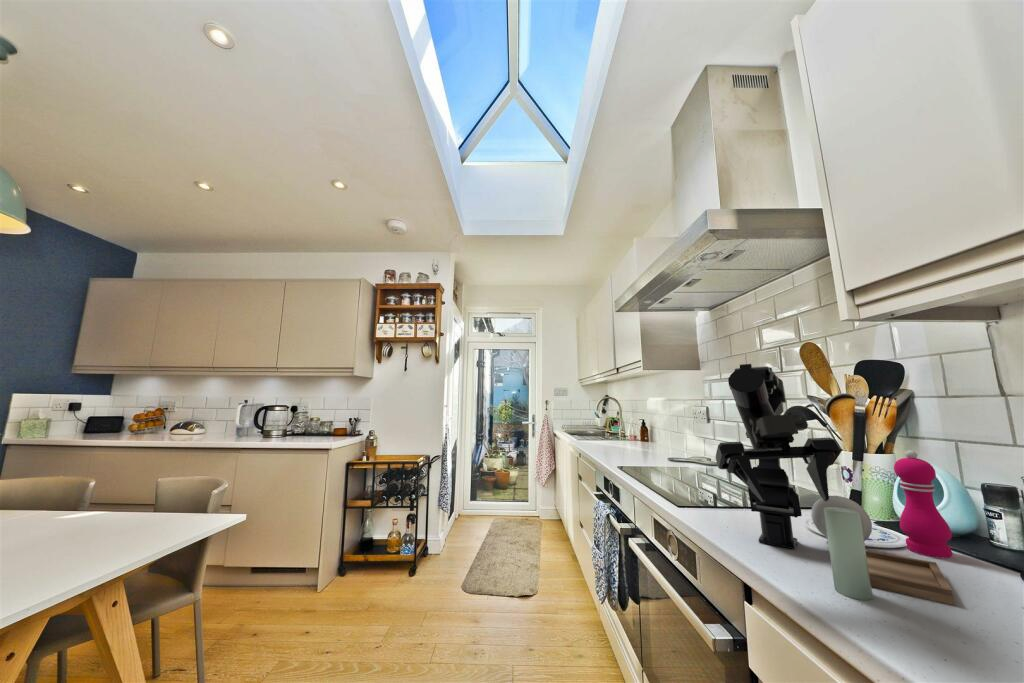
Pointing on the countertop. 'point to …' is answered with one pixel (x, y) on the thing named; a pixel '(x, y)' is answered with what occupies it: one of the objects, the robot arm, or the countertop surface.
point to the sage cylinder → (848, 553)
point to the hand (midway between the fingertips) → (794, 500)
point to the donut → (839, 503)
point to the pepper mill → (921, 509)
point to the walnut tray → (908, 577)
